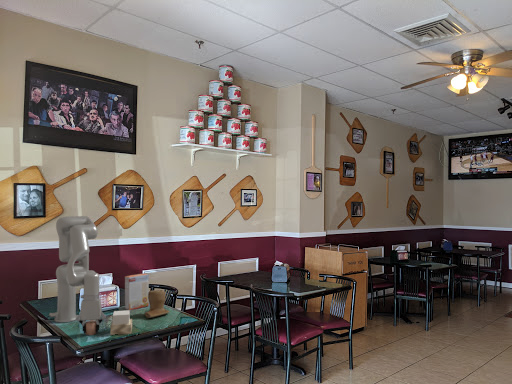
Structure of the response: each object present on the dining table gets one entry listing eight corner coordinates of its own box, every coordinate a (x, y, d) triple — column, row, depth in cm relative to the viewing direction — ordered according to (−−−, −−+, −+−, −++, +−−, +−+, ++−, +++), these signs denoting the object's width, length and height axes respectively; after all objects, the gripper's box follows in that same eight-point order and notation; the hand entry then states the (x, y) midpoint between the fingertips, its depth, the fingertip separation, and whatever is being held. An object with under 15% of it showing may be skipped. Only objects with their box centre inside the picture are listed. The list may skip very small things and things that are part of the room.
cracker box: (144, 304, 269) (144, 272, 269) (148, 306, 265) (149, 274, 265) (124, 308, 259) (124, 275, 259) (129, 310, 255) (129, 277, 255)
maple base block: (110, 335, 210) (110, 325, 210) (112, 329, 220) (112, 320, 220) (130, 334, 212) (130, 324, 212) (132, 328, 222) (132, 318, 222)
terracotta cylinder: (84, 335, 209) (84, 323, 209) (86, 332, 214) (86, 320, 214) (95, 334, 210) (95, 323, 210) (97, 331, 215) (97, 320, 215)
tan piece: (159, 310, 255) (159, 286, 255) (171, 314, 247) (172, 289, 247) (138, 316, 243) (139, 291, 243) (151, 320, 235) (151, 294, 236)
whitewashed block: (112, 325, 211) (112, 315, 211) (113, 320, 219) (114, 311, 219) (128, 324, 213) (129, 314, 213) (129, 319, 221) (129, 310, 221)
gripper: (72, 299, 206) (71, 335, 206) (107, 298, 210) (107, 333, 210) (75, 296, 214) (74, 331, 213) (109, 294, 217) (109, 328, 217)
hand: (90, 331), depth 212 cm, fingers closed on terracotta cylinder, 5 cm apart
